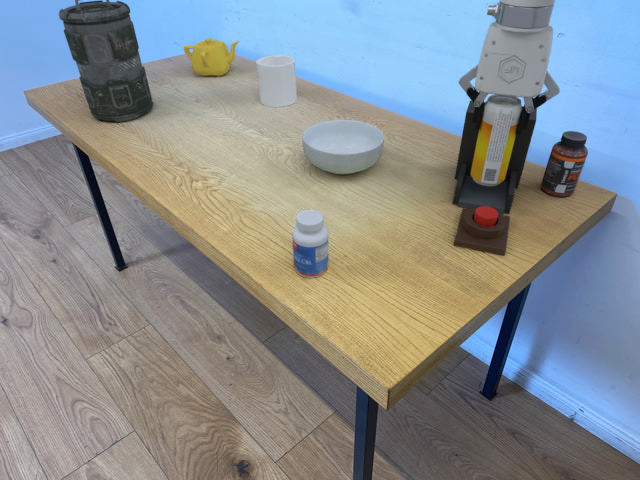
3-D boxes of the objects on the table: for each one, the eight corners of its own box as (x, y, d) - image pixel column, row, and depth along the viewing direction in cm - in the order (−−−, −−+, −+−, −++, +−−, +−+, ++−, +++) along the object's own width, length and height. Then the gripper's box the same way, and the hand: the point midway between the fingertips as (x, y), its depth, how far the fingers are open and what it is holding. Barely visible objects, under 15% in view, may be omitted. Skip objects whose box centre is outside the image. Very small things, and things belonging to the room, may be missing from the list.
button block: (508, 221, 82) (512, 207, 81) (504, 255, 75) (508, 241, 73) (461, 213, 85) (464, 199, 83) (453, 245, 77) (456, 230, 76)
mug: (263, 89, 137) (260, 51, 131) (298, 89, 137) (297, 51, 130) (257, 107, 126) (253, 67, 120) (295, 107, 126) (293, 66, 120)
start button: (496, 216, 79) (499, 208, 78) (495, 228, 77) (497, 220, 75) (474, 213, 80) (476, 204, 79) (472, 224, 78) (474, 215, 77)
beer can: (500, 171, 89) (519, 93, 80) (507, 188, 84) (528, 107, 75) (467, 170, 90) (482, 93, 80) (472, 187, 85) (489, 106, 76)
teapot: (225, 63, 158) (220, 30, 151) (243, 73, 149) (239, 39, 143) (186, 72, 151) (180, 38, 145) (204, 82, 143) (198, 47, 137)
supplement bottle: (566, 201, 87) (586, 145, 80) (534, 190, 90) (551, 136, 84) (578, 189, 91) (598, 134, 84) (547, 179, 94) (564, 125, 87)
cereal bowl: (393, 180, 95) (396, 148, 90) (312, 191, 92) (311, 158, 88) (368, 143, 108) (369, 114, 103) (297, 152, 105) (295, 122, 101)
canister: (104, 129, 117) (64, 6, 100) (83, 110, 127) (45, -5, 110) (163, 112, 125) (136, -5, 108) (140, 96, 135) (112, -14, 118)
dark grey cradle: (519, 174, 95) (536, 107, 87) (515, 216, 84) (535, 144, 75) (458, 165, 99) (470, 100, 90) (446, 204, 87) (458, 134, 79)
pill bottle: (286, 268, 74) (282, 217, 68) (310, 252, 77) (308, 201, 71) (312, 284, 71) (310, 232, 65) (335, 266, 74) (335, 215, 68)
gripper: (460, 18, 70) (443, 131, 81) (589, 25, 65) (552, 146, 76) (466, 7, 75) (450, 115, 86) (585, 13, 70) (552, 127, 81)
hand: (498, 128), depth 81 cm, fingers closed on beer can, 6 cm apart
